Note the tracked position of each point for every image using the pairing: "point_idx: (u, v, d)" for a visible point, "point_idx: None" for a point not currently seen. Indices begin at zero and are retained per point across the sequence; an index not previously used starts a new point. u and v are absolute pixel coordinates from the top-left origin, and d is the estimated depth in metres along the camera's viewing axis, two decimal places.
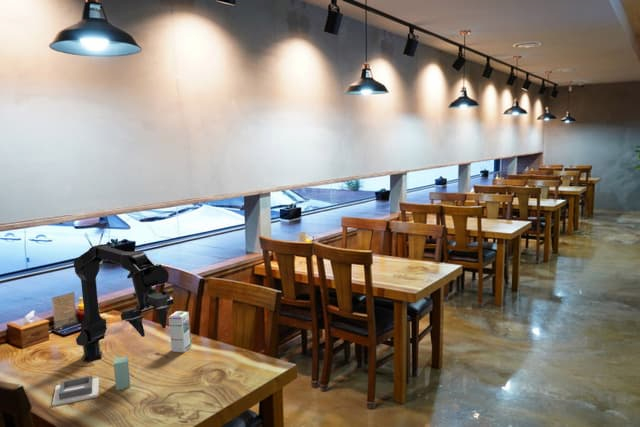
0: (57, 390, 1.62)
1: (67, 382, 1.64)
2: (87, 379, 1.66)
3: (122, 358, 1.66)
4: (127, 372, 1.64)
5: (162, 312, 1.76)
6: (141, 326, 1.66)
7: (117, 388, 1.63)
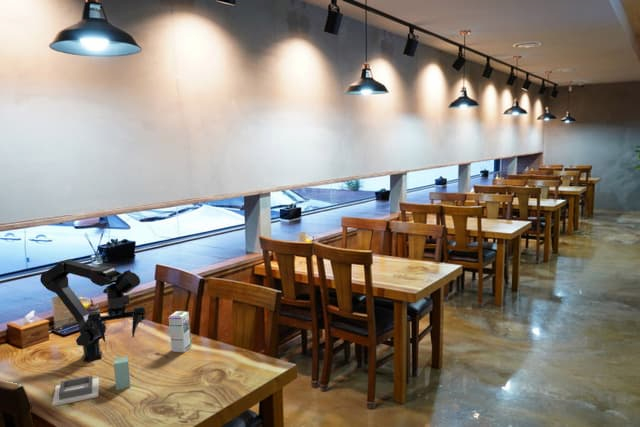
0: (57, 390, 1.62)
1: (67, 382, 1.64)
2: (87, 379, 1.66)
3: (122, 358, 1.66)
4: (127, 372, 1.64)
5: None
6: (101, 330, 1.70)
7: (117, 388, 1.63)
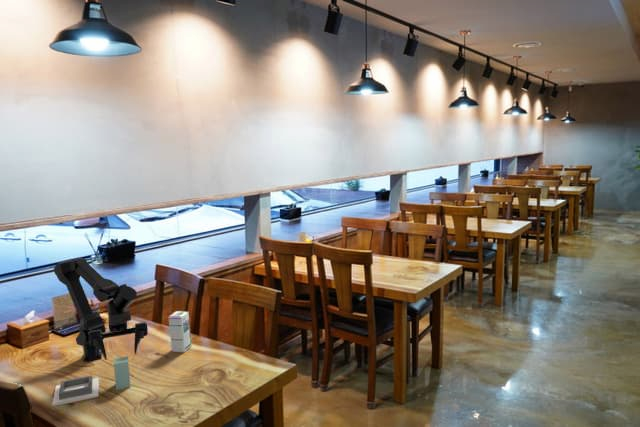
0: (57, 390, 1.62)
1: (67, 382, 1.64)
2: (87, 379, 1.66)
3: (122, 358, 1.66)
4: (127, 372, 1.64)
5: None
6: (102, 348, 1.65)
7: (117, 388, 1.63)
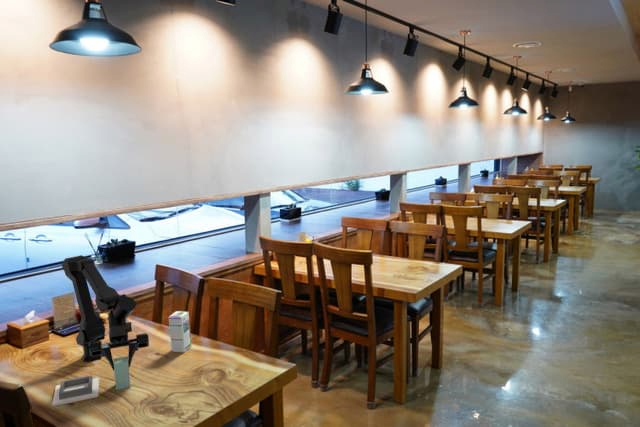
0: (57, 390, 1.62)
1: (67, 382, 1.64)
2: (87, 379, 1.66)
3: (122, 358, 1.66)
4: (127, 372, 1.64)
5: None
6: (110, 358, 1.63)
7: (117, 388, 1.63)
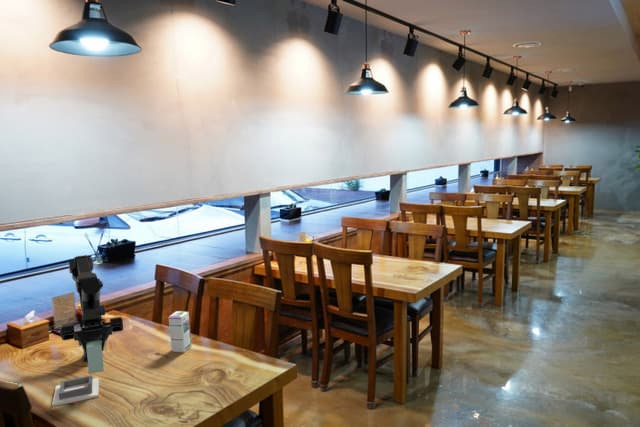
0: (57, 390, 1.62)
1: (67, 382, 1.64)
2: (87, 379, 1.66)
3: (96, 341, 1.63)
4: (100, 356, 1.61)
5: (102, 334, 1.64)
6: (83, 342, 1.60)
7: (90, 372, 1.60)
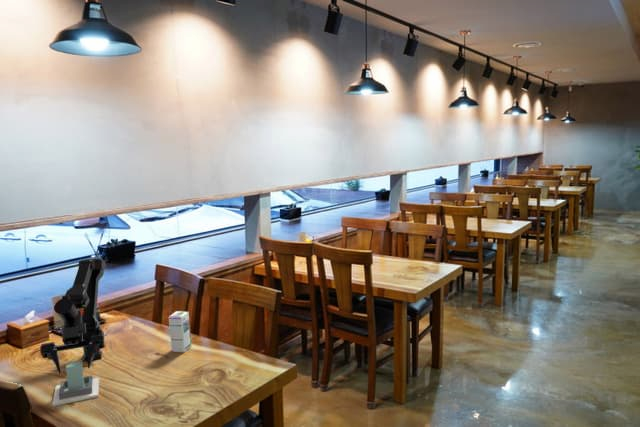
0: (57, 390, 1.62)
1: (67, 382, 1.64)
2: (87, 379, 1.66)
3: (76, 361, 1.62)
4: (80, 376, 1.60)
5: (88, 351, 1.64)
6: (56, 361, 1.59)
7: None
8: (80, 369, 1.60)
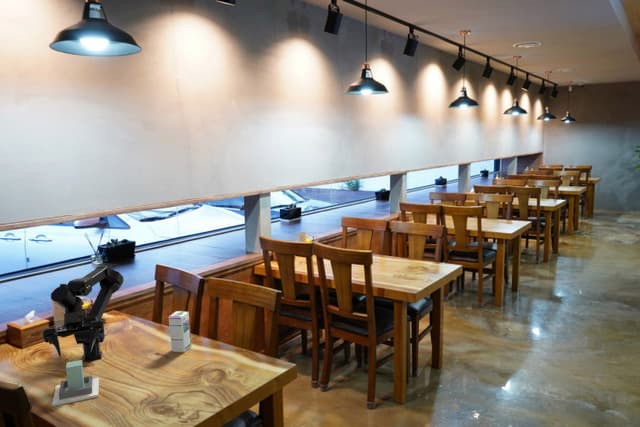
0: (57, 390, 1.62)
1: (67, 382, 1.64)
2: (87, 379, 1.66)
3: (76, 361, 1.62)
4: (80, 376, 1.60)
5: None
6: (57, 345, 1.66)
7: None
8: (80, 369, 1.60)
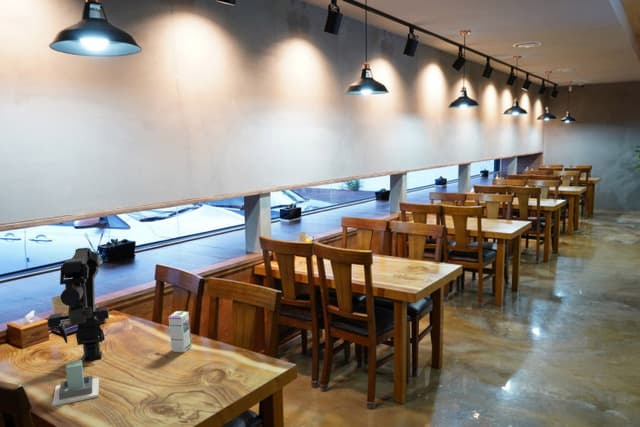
0: (57, 390, 1.62)
1: (67, 382, 1.64)
2: (87, 379, 1.66)
3: (76, 361, 1.62)
4: (80, 376, 1.60)
5: (95, 323, 1.72)
6: (63, 334, 1.68)
7: None
8: (80, 369, 1.60)
